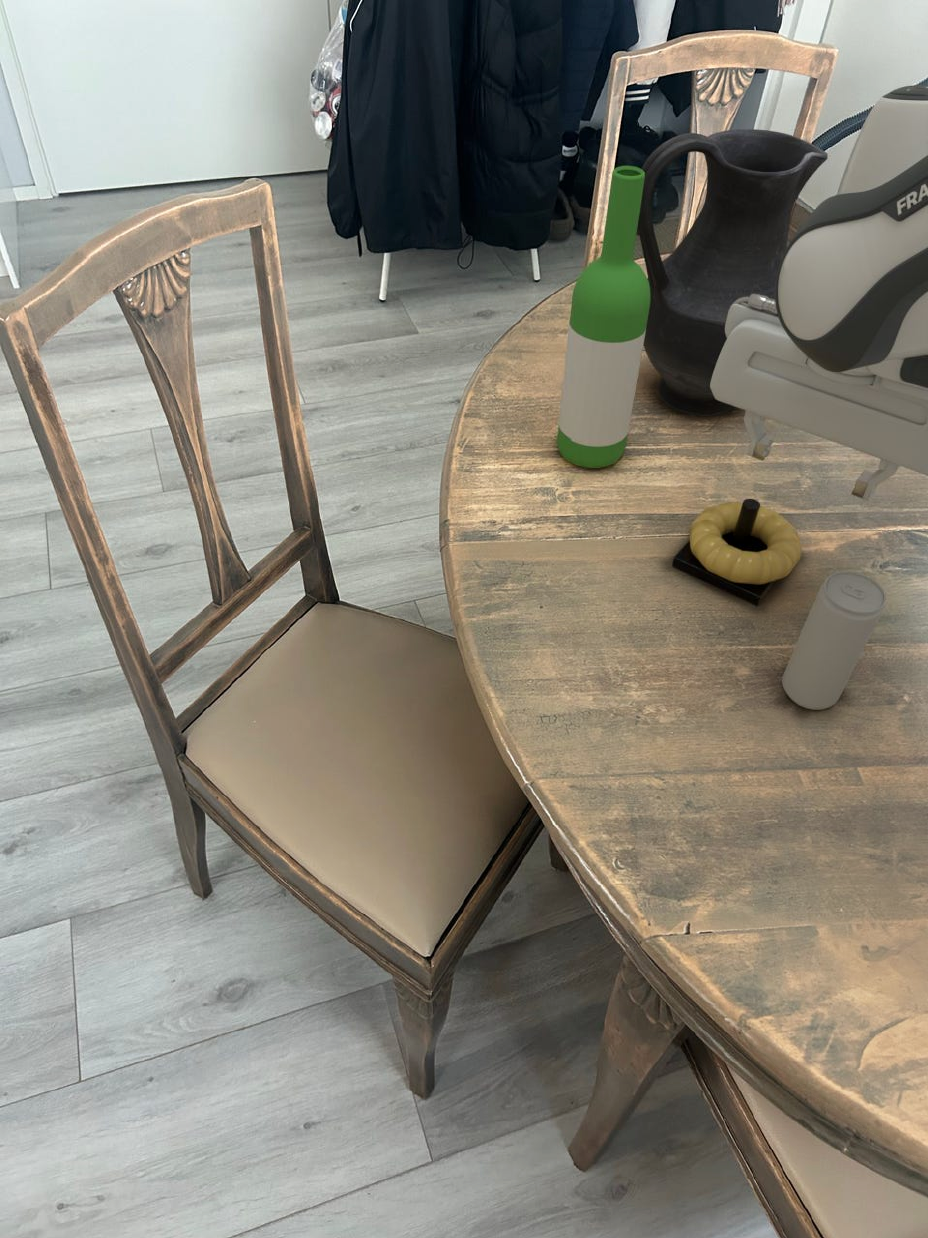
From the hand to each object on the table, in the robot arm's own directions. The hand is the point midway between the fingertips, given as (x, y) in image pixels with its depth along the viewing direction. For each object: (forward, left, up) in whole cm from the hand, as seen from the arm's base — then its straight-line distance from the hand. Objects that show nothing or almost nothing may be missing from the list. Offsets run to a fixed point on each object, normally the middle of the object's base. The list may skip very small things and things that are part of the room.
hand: (808, 474), depth 76 cm
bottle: (+25, -7, -13) cm, 29 cm away
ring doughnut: (+4, 0, -10) cm, 10 cm away
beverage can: (-8, +11, -13) cm, 19 cm away
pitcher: (+22, -24, -13) cm, 35 cm away
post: (+4, 0, -12) cm, 13 cm away
